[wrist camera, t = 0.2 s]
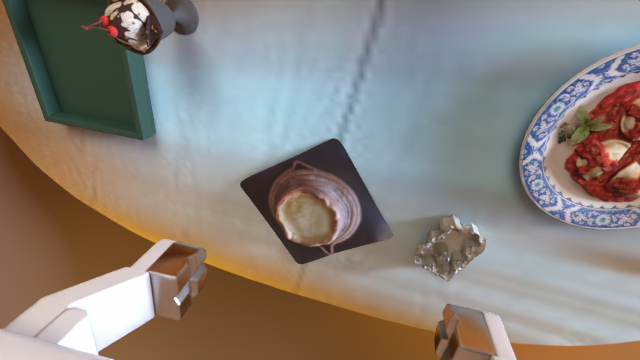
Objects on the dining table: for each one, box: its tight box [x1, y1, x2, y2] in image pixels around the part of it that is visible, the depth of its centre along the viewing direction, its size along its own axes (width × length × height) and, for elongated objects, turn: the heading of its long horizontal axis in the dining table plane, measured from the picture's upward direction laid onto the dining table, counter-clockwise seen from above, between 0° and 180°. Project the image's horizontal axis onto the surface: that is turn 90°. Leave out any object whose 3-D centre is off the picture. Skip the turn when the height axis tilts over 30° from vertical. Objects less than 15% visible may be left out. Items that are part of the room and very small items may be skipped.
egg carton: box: [414, 215, 486, 281], centre depth 55 cm, size 11×8×4 cm
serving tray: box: [2, 0, 156, 140], centre depth 50 cm, size 22×18×3 cm
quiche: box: [240, 139, 392, 264], centre depth 57 cm, size 21×20×4 cm
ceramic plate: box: [519, 44, 640, 230], centre depth 42 cm, size 26×26×3 cm
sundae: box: [81, 0, 198, 55], centre depth 40 cm, size 7×7×15 cm
